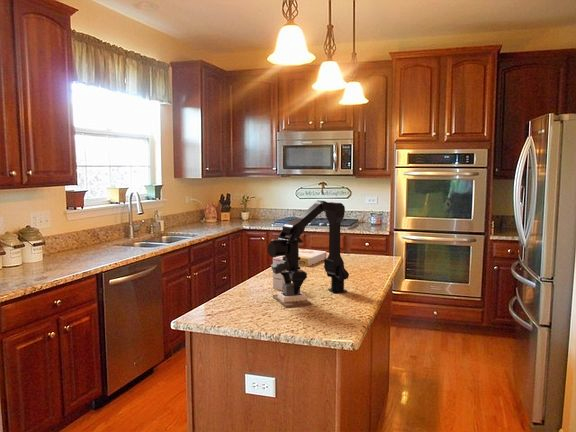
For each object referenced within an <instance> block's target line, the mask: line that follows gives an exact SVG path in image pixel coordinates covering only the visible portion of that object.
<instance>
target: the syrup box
mask: <svg viewBox="0 0 576 432" xmlns="http://www.w3.org/2000/svg"><path fill="white" fill-rule="evenodd" d="M281 260H283V256H280V257H277V256H276V257H272V264H274V263H276V262H278V261H281ZM283 284H285V281H284V278H283V275H281V274H280V273H278V274H275V273H273V272H272V289H275V290H278V291H283Z"/></svg>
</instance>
